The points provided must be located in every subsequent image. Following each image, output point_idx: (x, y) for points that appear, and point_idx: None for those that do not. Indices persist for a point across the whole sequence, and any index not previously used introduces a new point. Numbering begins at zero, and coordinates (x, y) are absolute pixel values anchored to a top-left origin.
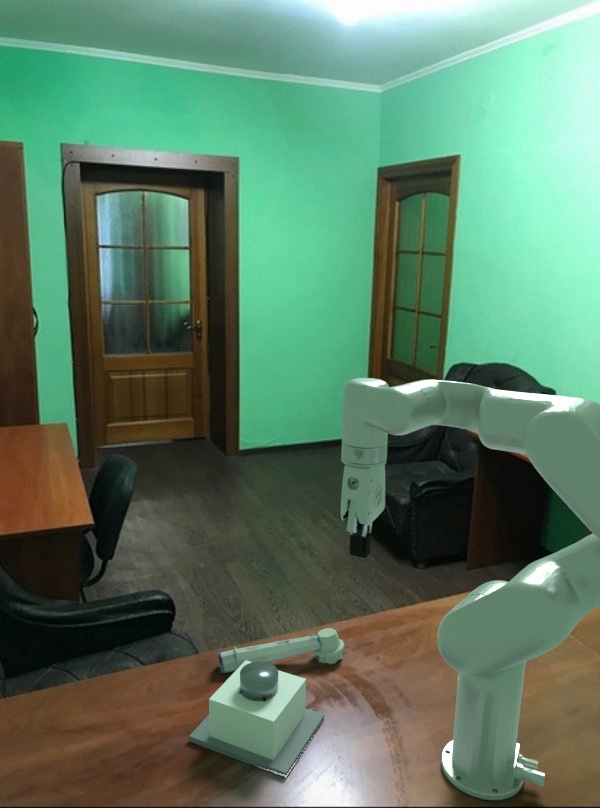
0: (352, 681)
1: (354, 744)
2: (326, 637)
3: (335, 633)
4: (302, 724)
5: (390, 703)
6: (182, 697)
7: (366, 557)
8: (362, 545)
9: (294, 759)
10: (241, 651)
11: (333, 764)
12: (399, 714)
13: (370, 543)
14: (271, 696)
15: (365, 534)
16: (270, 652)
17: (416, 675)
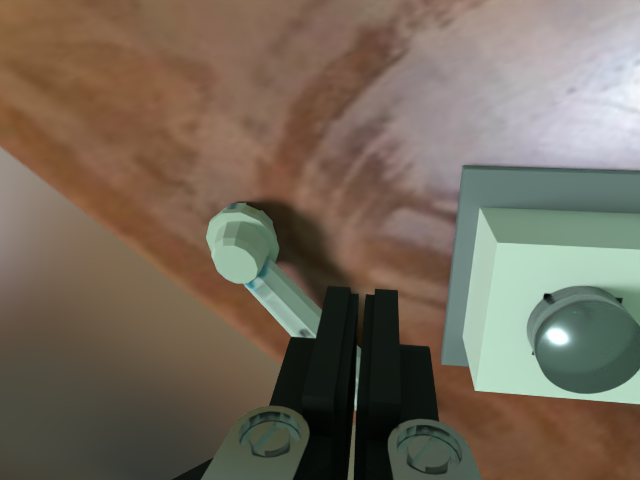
0: (306, 152)
1: (519, 73)
2: (254, 258)
3: (228, 244)
4: (514, 200)
5: (343, 39)
6: (499, 427)
7: (397, 291)
8: (415, 380)
9: (630, 175)
10: None
11: (599, 95)
12: (374, 3)
13: (318, 331)
14: (605, 291)
15: (422, 445)
16: None
17: (204, 9)
